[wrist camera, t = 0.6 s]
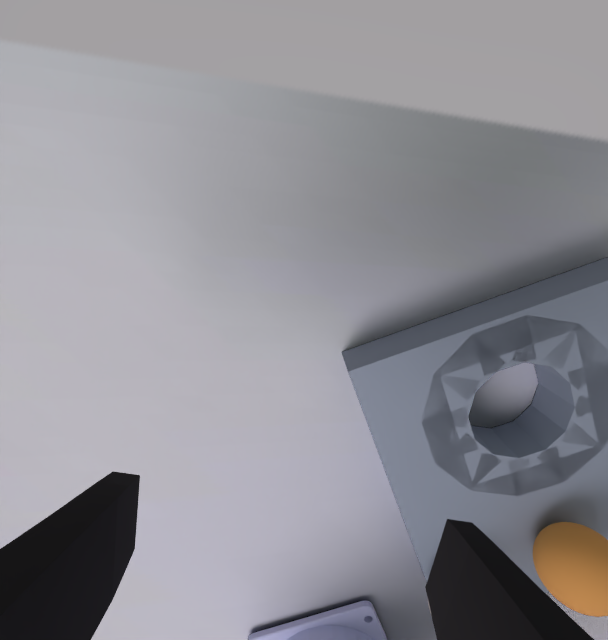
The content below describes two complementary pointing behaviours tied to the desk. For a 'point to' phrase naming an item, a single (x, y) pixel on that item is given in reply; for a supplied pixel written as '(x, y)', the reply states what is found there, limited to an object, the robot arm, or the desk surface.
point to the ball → (574, 566)
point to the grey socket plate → (505, 440)
